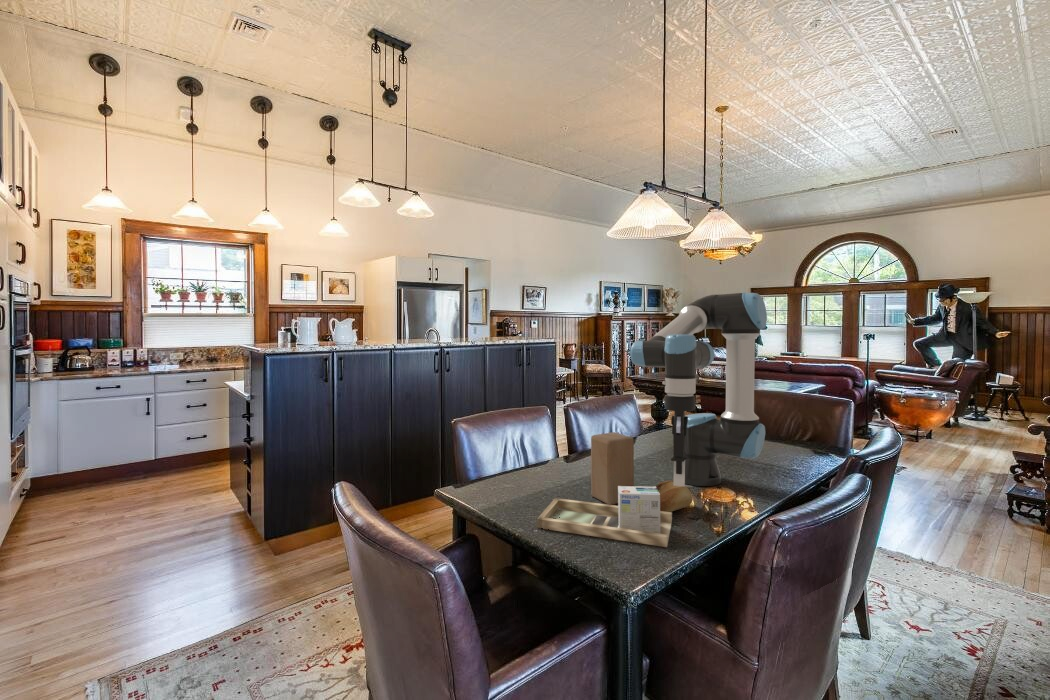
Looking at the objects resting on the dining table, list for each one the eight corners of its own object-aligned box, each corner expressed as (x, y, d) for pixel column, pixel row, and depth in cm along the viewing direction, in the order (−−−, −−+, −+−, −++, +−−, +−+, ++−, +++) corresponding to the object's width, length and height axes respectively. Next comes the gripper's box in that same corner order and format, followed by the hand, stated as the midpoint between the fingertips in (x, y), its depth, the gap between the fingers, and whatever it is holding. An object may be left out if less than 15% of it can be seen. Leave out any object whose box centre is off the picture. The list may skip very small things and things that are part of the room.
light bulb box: (656, 524, 131) (656, 485, 130) (661, 535, 124) (661, 494, 123) (617, 523, 132) (617, 484, 131) (619, 533, 125) (619, 493, 124)
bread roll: (642, 511, 140) (642, 484, 140) (670, 498, 150) (671, 473, 150) (670, 521, 133) (670, 492, 133) (699, 507, 143) (699, 481, 142)
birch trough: (671, 522, 133) (671, 512, 132) (666, 548, 117) (666, 537, 117) (555, 507, 145) (555, 498, 145) (537, 529, 129) (536, 518, 129)
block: (609, 506, 144) (609, 441, 143) (590, 496, 153) (589, 434, 152) (635, 500, 149) (635, 437, 148) (615, 491, 157) (614, 431, 156)
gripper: (666, 390, 130) (666, 476, 130) (662, 397, 117) (661, 491, 118) (696, 391, 127) (695, 479, 128) (694, 398, 115) (693, 495, 116)
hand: (679, 485), depth 123 cm, fingers closed
